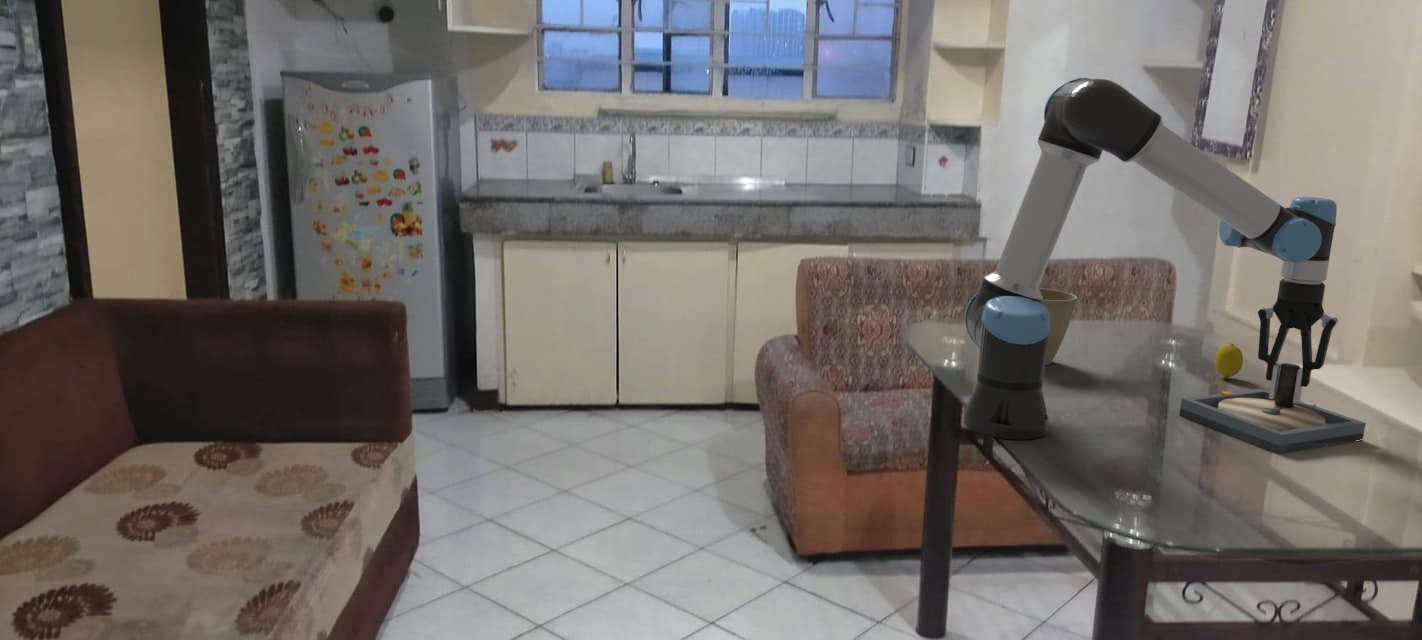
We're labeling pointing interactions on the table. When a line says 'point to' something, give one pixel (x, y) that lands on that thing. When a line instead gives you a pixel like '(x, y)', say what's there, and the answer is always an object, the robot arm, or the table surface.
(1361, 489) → the table surface
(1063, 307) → the plant pot
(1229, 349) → the lemon
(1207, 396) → the dial frame
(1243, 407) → the dial
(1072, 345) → the table surface
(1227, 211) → the robot arm
